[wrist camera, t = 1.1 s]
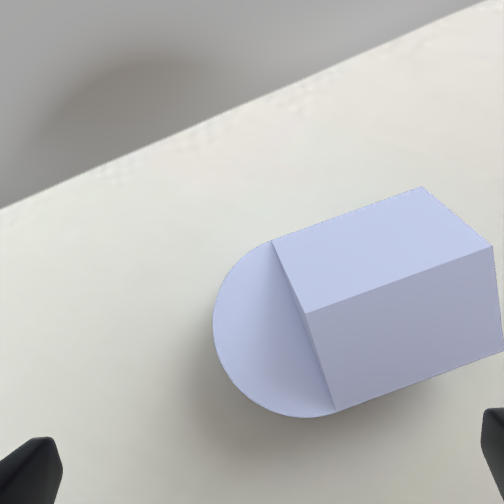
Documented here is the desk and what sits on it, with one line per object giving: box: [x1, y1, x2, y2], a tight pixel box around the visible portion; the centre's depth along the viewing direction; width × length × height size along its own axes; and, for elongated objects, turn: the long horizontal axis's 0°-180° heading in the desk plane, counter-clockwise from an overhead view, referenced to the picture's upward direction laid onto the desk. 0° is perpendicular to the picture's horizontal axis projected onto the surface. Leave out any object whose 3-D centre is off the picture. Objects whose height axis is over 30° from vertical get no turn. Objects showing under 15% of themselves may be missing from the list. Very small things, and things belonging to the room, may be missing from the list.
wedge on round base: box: [213, 186, 504, 418], centre depth 21 cm, size 9×7×13 cm
